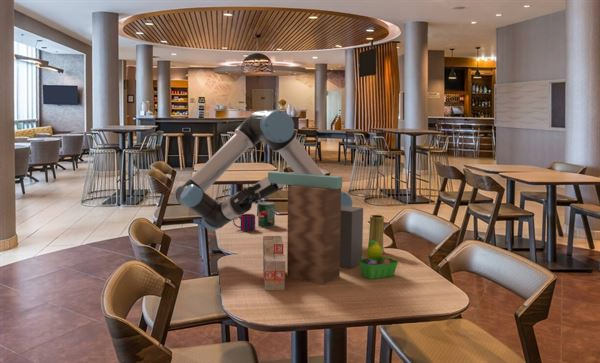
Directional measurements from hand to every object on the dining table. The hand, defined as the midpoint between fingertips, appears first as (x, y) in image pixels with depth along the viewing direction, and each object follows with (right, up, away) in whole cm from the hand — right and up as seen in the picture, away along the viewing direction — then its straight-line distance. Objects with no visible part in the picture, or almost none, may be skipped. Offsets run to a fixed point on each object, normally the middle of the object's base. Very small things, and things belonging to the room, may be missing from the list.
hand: (280, 178), depth 178 cm
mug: (-19, -23, +68) cm, 75 cm away
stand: (+11, -32, -2) cm, 34 cm away
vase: (+36, -29, +30) cm, 55 cm away
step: (+21, -30, +15) cm, 40 cm away
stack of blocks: (-2, -33, -5) cm, 33 cm away
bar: (+8, -2, -4) cm, 9 cm away
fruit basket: (+32, -32, +1) cm, 46 cm away
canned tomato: (-10, -22, +78) cm, 81 cm away
